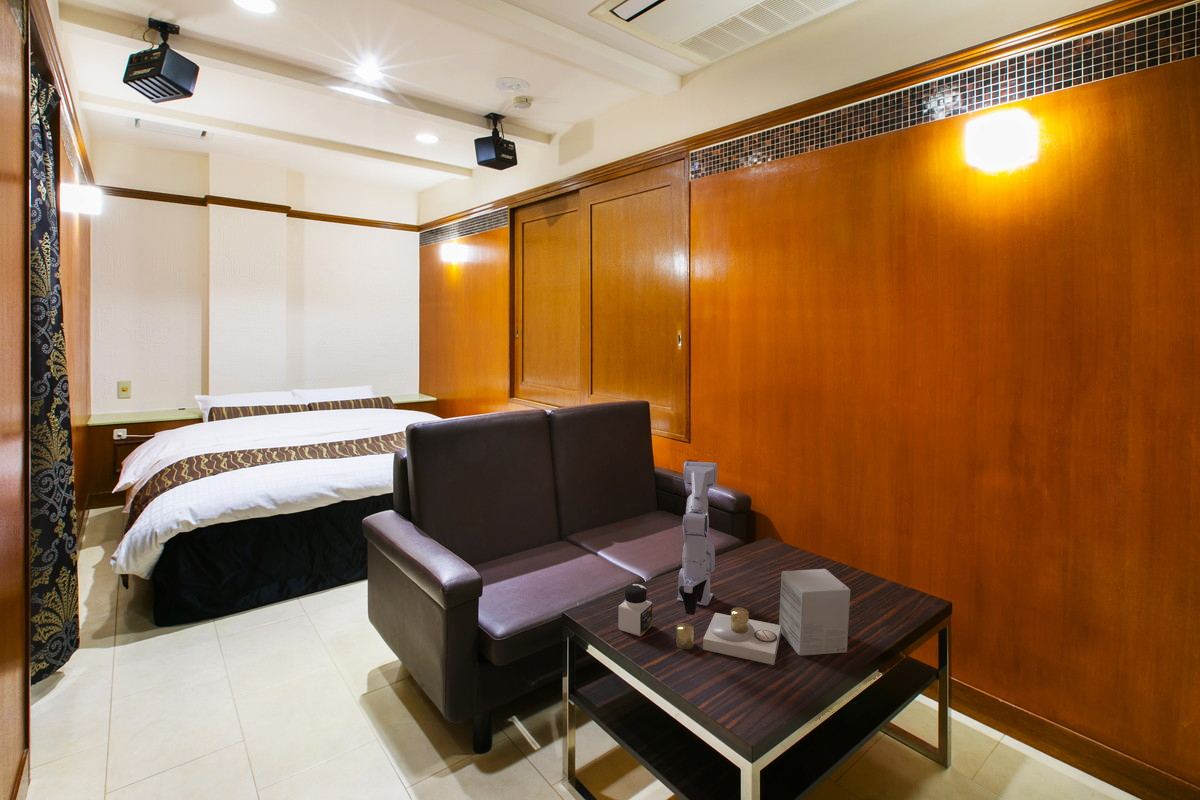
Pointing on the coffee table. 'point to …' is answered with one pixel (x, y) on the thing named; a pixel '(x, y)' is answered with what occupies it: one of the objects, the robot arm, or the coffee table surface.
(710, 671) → the coffee table surface
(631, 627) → the medicine bottle
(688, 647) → the cylinder
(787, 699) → the coffee table surface
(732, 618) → the cylinder
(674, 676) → the coffee table surface
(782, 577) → the supplement box
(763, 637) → the scale
